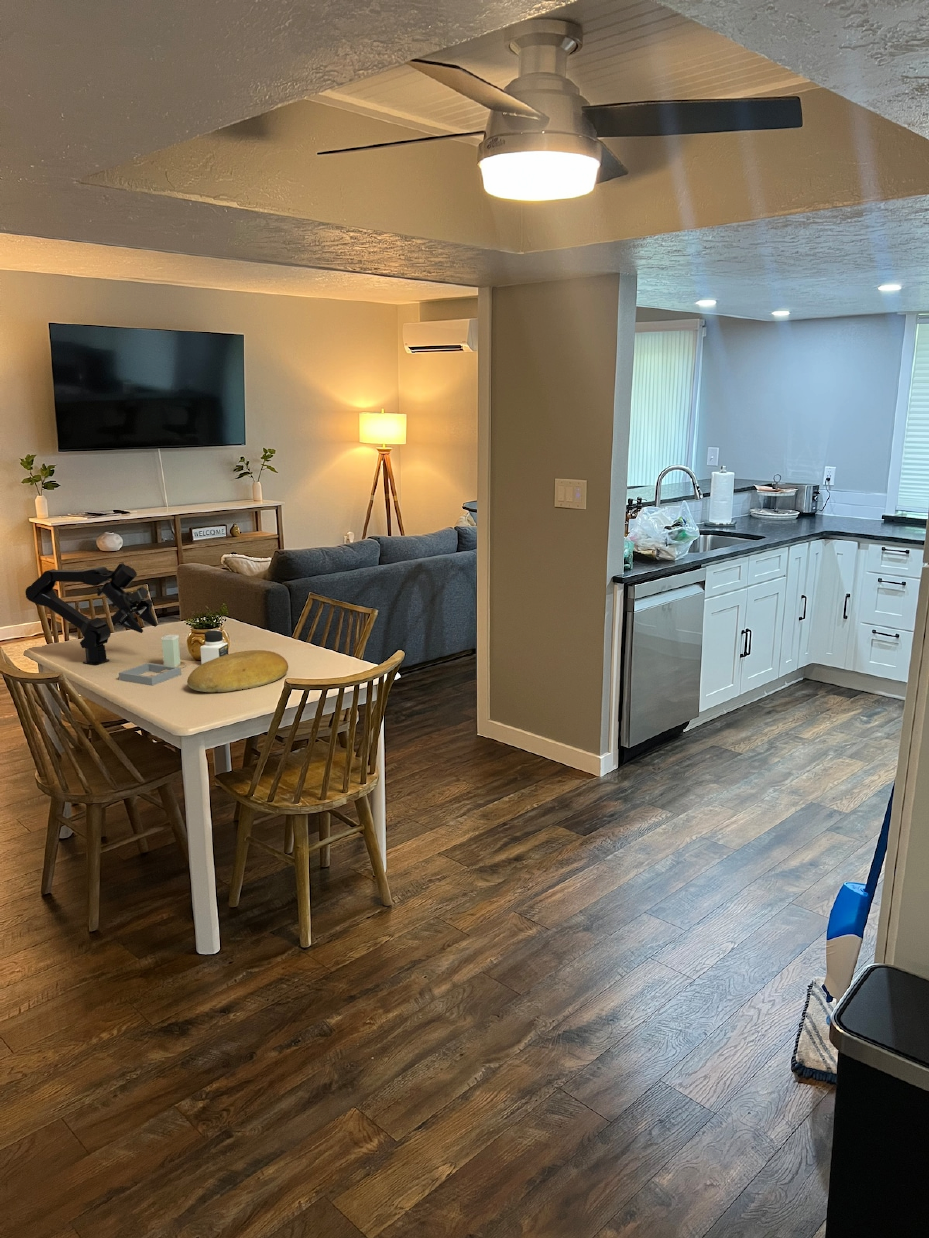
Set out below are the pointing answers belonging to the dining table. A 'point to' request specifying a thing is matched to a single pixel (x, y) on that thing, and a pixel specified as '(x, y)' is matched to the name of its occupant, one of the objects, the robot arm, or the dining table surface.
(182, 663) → the coaster
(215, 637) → the medicine bottle
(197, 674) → the bread
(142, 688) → the dining table surface
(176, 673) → the grey square frame
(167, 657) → the tall square-topped block
